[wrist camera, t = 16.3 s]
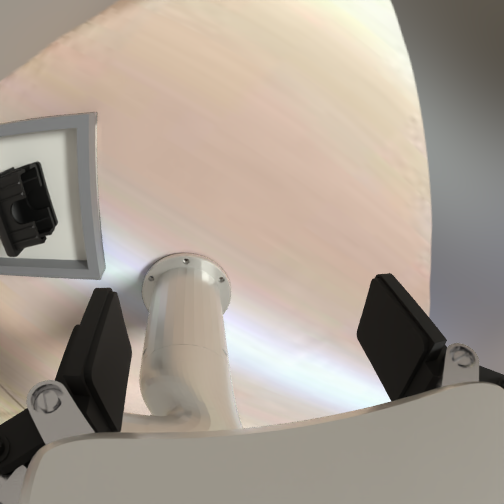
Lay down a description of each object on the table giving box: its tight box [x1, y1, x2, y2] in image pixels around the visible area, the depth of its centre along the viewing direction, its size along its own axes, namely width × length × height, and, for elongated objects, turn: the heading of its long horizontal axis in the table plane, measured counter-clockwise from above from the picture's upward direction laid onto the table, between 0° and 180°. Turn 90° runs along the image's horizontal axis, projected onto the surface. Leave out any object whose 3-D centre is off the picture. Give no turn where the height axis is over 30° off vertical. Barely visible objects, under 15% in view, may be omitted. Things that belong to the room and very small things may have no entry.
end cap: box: [0, 161, 58, 257], centre depth 31 cm, size 10×7×7 cm
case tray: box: [0, 112, 106, 280], centre depth 33 cm, size 21×21×3 cm
